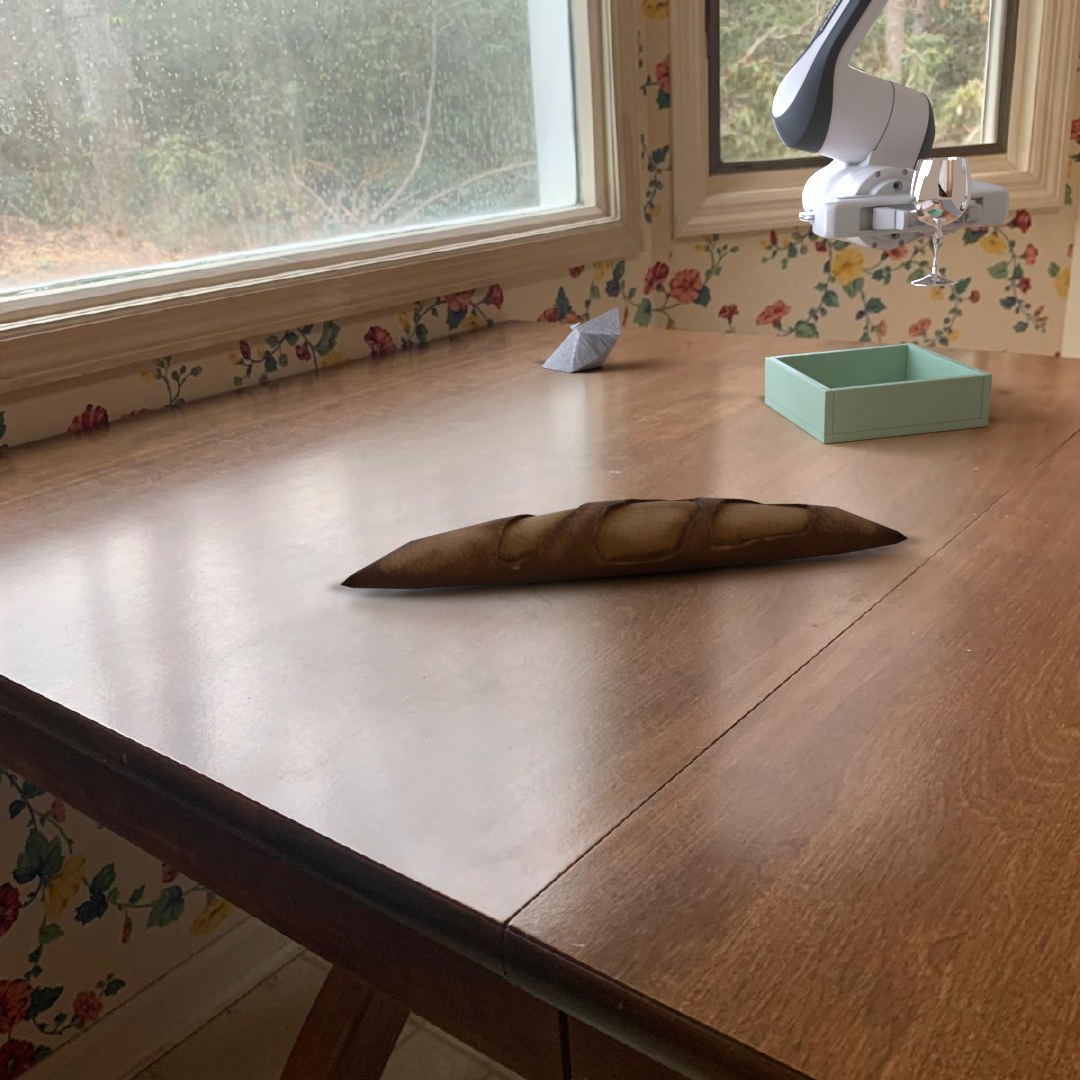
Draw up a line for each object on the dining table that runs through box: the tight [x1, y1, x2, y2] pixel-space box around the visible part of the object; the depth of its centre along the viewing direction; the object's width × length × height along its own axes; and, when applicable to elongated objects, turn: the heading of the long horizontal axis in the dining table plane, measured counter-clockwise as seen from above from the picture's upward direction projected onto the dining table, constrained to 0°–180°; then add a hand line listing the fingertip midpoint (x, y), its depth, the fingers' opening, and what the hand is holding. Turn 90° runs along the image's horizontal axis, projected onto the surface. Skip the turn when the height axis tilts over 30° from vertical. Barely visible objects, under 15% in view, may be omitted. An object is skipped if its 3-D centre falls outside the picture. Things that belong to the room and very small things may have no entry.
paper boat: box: [541, 306, 621, 374], centre depth 133 cm, size 12×6×9 cm
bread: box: [340, 496, 909, 590], centre depth 72 cm, size 38×5×5 cm, turn 93°
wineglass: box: [910, 156, 972, 287], centre depth 109 cm, size 6×6×12 cm
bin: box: [764, 342, 993, 445], centre depth 104 cm, size 16×16×5 cm
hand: (943, 217), depth 108 cm, fingers closed on wineglass, 5 cm apart
